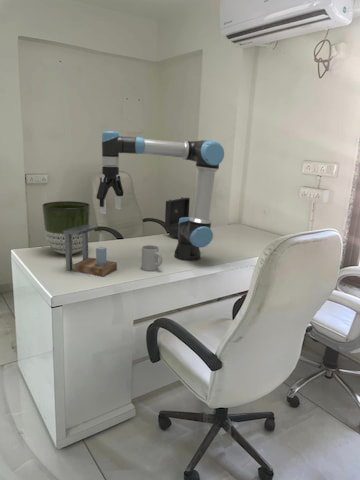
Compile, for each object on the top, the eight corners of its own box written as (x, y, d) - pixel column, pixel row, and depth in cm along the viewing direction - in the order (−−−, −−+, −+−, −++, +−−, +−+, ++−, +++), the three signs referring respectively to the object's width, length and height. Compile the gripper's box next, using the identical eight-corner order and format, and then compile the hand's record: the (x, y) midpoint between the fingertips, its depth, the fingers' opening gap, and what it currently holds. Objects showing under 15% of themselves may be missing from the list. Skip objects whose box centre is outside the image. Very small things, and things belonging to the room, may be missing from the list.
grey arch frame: (98, 265, 186) (97, 226, 181) (79, 274, 171) (77, 232, 166) (84, 262, 189) (84, 224, 183) (64, 272, 174) (63, 230, 169)
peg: (106, 271, 177) (106, 247, 174) (102, 273, 174) (102, 249, 171) (100, 270, 178) (100, 246, 175) (96, 272, 175) (96, 248, 172)
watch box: (199, 241, 241) (201, 204, 235) (163, 234, 256) (165, 199, 249) (216, 234, 263) (219, 200, 257) (183, 228, 277) (184, 196, 271)
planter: (99, 253, 204) (99, 205, 198) (59, 262, 187) (57, 210, 180) (75, 244, 220) (74, 200, 214) (36, 251, 203) (33, 203, 196)
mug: (137, 268, 184) (138, 247, 181) (149, 264, 190) (150, 244, 188) (154, 274, 177) (155, 252, 174) (166, 270, 183) (167, 249, 180)
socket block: (116, 270, 180) (116, 262, 179) (103, 277, 169) (103, 269, 168) (89, 265, 185) (89, 257, 184) (74, 272, 174) (74, 264, 173)
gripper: (117, 164, 182) (117, 206, 188) (87, 166, 160) (88, 214, 165) (130, 165, 180) (130, 208, 185) (102, 167, 157) (103, 216, 162)
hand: (110, 211), depth 175 cm, fingers open, 13 cm apart
